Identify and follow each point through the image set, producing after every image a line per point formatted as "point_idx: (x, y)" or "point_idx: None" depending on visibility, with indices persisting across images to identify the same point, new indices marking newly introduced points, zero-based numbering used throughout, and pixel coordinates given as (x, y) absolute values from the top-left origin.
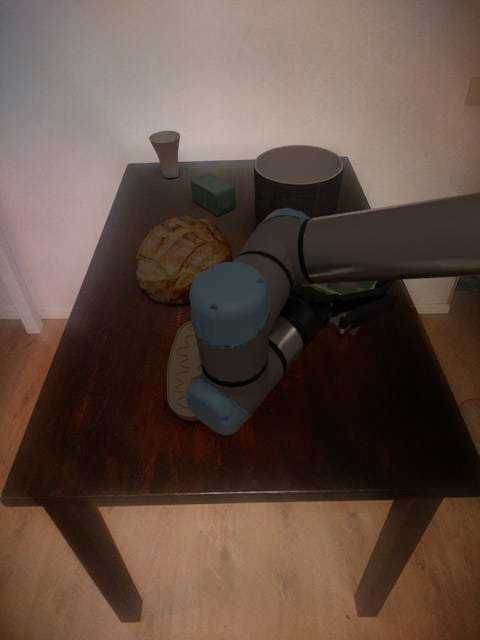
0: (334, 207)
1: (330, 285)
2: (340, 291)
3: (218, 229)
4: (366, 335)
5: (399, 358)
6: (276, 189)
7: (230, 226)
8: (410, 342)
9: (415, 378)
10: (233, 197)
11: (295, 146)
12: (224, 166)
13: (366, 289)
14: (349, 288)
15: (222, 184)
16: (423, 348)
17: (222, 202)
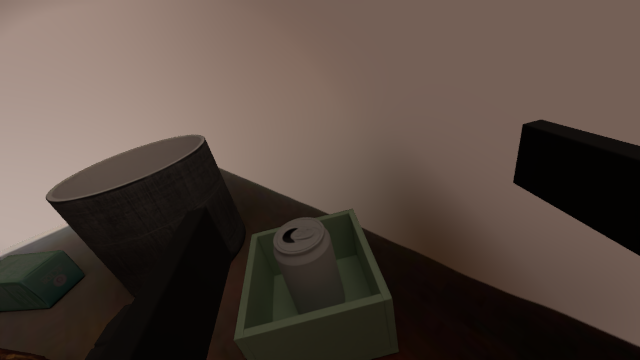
0: (224, 189)
1: (299, 297)
2: (323, 295)
3: (5, 352)
4: (411, 332)
5: (492, 331)
6: (103, 207)
7: (78, 309)
8: (462, 288)
9: (557, 349)
10: (69, 263)
11: (127, 152)
12: (62, 234)
13: (338, 258)
14: (333, 279)
15: (36, 257)
16: (484, 283)
17: (45, 283)
